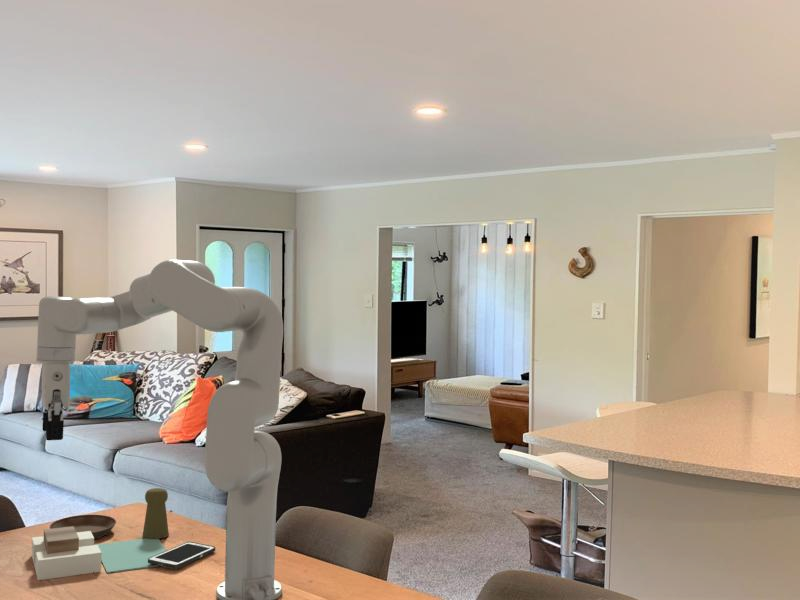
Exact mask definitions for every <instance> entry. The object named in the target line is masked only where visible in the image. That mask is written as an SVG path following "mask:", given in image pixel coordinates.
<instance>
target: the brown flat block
mask: <svg viewBox="0 0 800 600" xmlns="http://www.w3.org/2000/svg"><path fill="white" fill-rule="evenodd" d="M43 536H44V544H45V548H46V551H47V554H50V553H59V552H67V551H75V550H79V537H78V535H77V533H76V530H75V528H74V526H71V527H62V528H53V529H50V528H45V529H43Z"/></svg>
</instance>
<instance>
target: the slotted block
mask: <svg viewBox="0 0 800 600" xmlns="http://www.w3.org/2000/svg"><path fill="white" fill-rule="evenodd" d="M76 533H77V535H78V537H79V550H75V551H67V552H59V553H50V554H47V551H46V548H45V544H44V535H43V536H35V537H31V559H32V563H33V566H34V567H33V568H34V571H35V575H36V578H37V581H43V580H50V579H57V578H66V577H72V576H80V574H81V575H86V574H87V575H88V574H93V572H94V573H101V572H102V561H101V551H100V549H99V547H98V545H96V544H95V539H94V537H93V535H92V533H91V531H85V532H76Z"/></svg>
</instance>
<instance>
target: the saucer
mask: <svg viewBox="0 0 800 600" xmlns="http://www.w3.org/2000/svg"><path fill="white" fill-rule="evenodd" d="M116 524H117V520H116V519H115V518H113V517H112V516H109V515H102V514H80V515H73V516H68V517H64V518H60V519H58V520H55V521H54V522H52V523H51V524H50V525H49V528H48V529H53V528H62V527H71V526H74V528H75V530H76V532H85V531H91V533H92V535H93V537H94V540H96V538H97V539H99V537H100V538H102V536H103V537H105V536H107V535H108V534H109V532H111V531H112V530H113V528H115V526H116ZM104 535H105V536H104Z"/></svg>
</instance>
